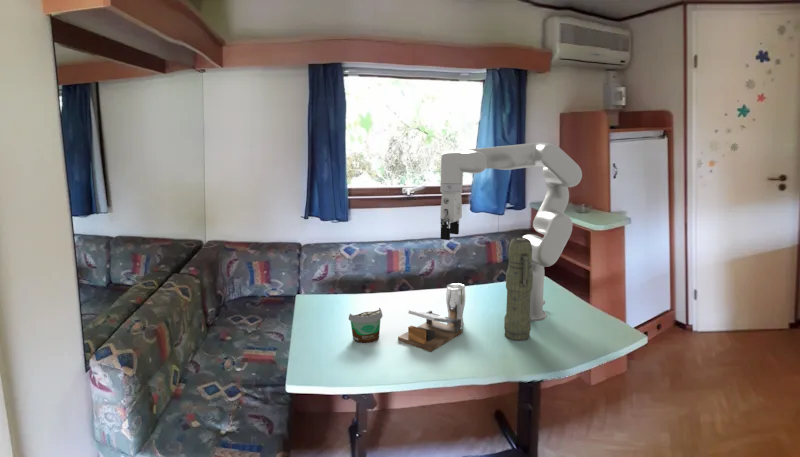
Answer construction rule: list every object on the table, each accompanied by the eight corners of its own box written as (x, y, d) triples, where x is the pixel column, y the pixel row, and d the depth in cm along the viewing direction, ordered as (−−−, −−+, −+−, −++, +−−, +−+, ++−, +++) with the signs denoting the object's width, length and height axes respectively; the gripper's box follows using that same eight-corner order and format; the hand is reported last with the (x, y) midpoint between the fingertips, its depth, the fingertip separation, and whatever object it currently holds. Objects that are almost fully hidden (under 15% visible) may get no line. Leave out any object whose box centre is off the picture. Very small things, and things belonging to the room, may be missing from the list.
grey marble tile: (431, 317, 185) (432, 312, 185) (456, 324, 178) (457, 320, 178) (407, 314, 174) (409, 309, 174) (433, 321, 167) (434, 317, 167)
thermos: (520, 327, 183) (524, 234, 176) (536, 341, 172) (541, 241, 164) (498, 330, 181) (500, 235, 174) (512, 344, 170) (516, 243, 162)
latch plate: (430, 323, 188) (430, 308, 187) (462, 333, 179) (462, 318, 178) (398, 340, 174) (397, 325, 173) (430, 352, 165) (430, 335, 164)
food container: (356, 347, 169) (355, 319, 167) (349, 341, 174) (348, 313, 172) (389, 340, 175) (388, 312, 172) (381, 333, 180) (380, 307, 178)
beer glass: (464, 329, 183) (464, 289, 179) (445, 328, 184) (445, 288, 181) (465, 321, 189) (466, 283, 186) (447, 320, 191) (447, 282, 187)
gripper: (453, 191, 164) (452, 242, 168) (469, 186, 179) (467, 233, 183) (432, 190, 167) (430, 240, 171) (449, 184, 182) (447, 231, 186)
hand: (449, 236), depth 177 cm, fingers open, 9 cm apart
